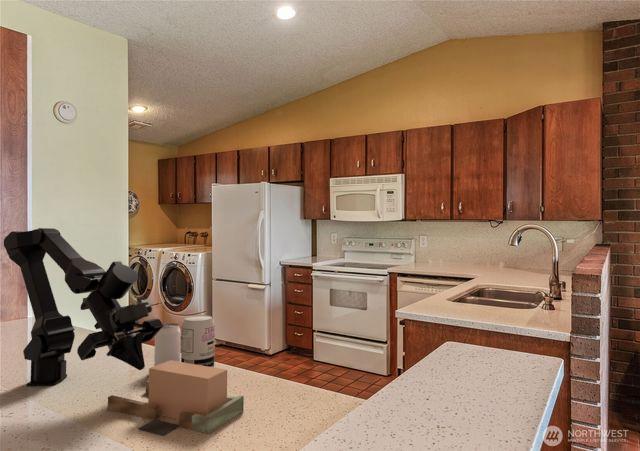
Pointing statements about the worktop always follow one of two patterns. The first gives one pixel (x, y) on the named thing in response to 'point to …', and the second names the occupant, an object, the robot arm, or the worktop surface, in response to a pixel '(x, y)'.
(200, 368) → the brick
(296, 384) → the worktop surface
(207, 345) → the supplement can
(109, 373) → the worktop surface
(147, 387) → the lane
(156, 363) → the can
